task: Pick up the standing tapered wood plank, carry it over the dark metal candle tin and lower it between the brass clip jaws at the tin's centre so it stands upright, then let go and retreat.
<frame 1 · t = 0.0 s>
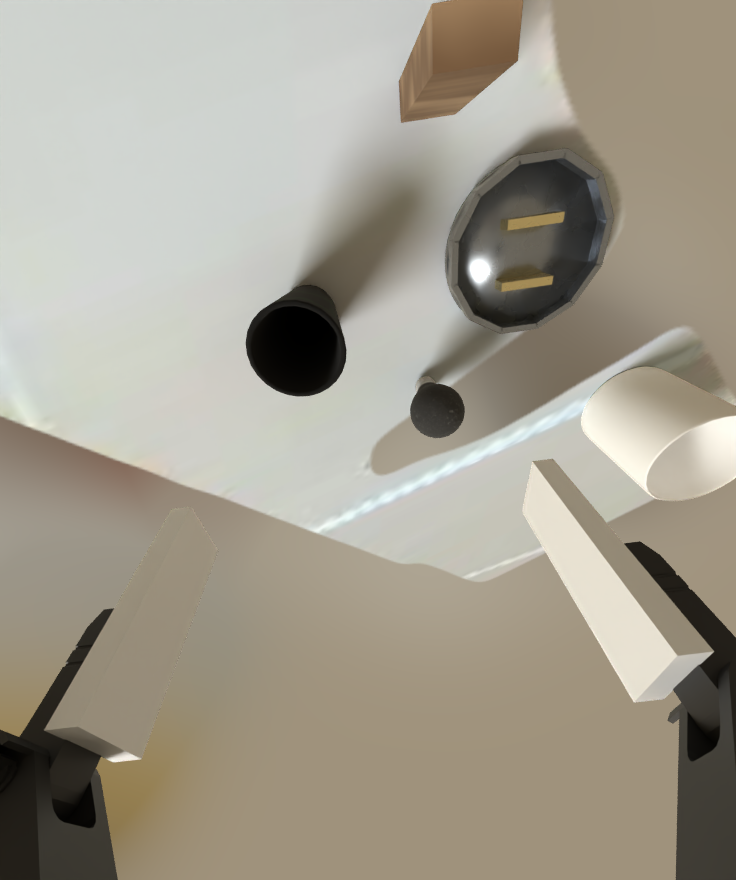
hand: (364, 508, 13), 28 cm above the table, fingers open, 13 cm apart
cup: (310, 312, 36), on the table
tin: (519, 251, 33), on the table
cup 2: (624, 406, 45), on the table
light bulb: (423, 381, 41), on the table
tapered wood plank: (427, 98, 27), on the table
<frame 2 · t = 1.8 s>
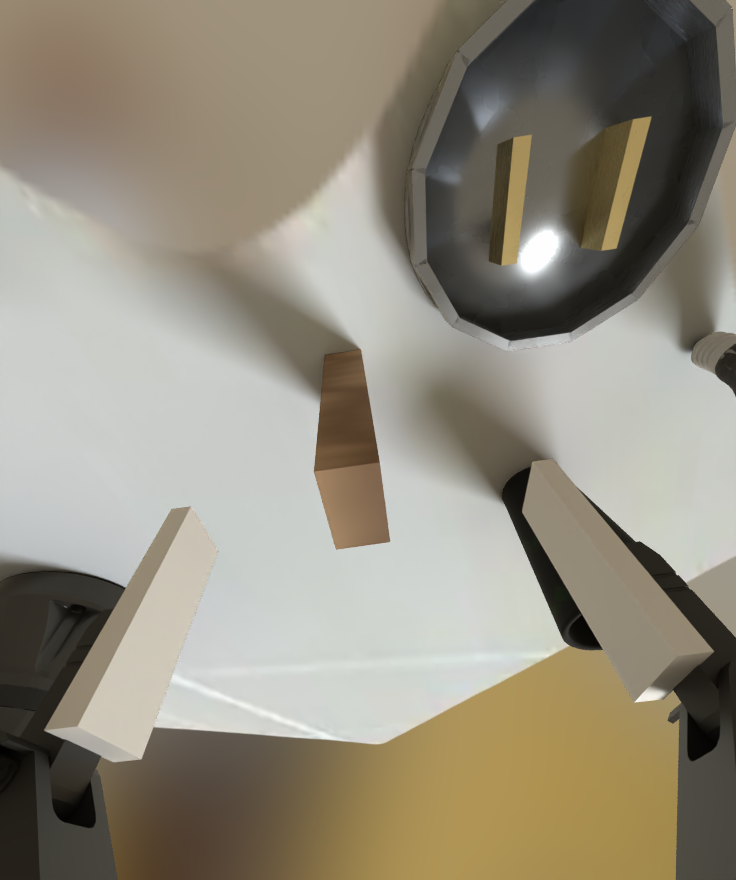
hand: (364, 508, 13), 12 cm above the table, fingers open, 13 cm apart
cup: (531, 487, 31), on the table
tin: (542, 199, 18), on the table
light bulb: (697, 344, 24), on the table
tapered wood plank: (348, 383, 23), on the table
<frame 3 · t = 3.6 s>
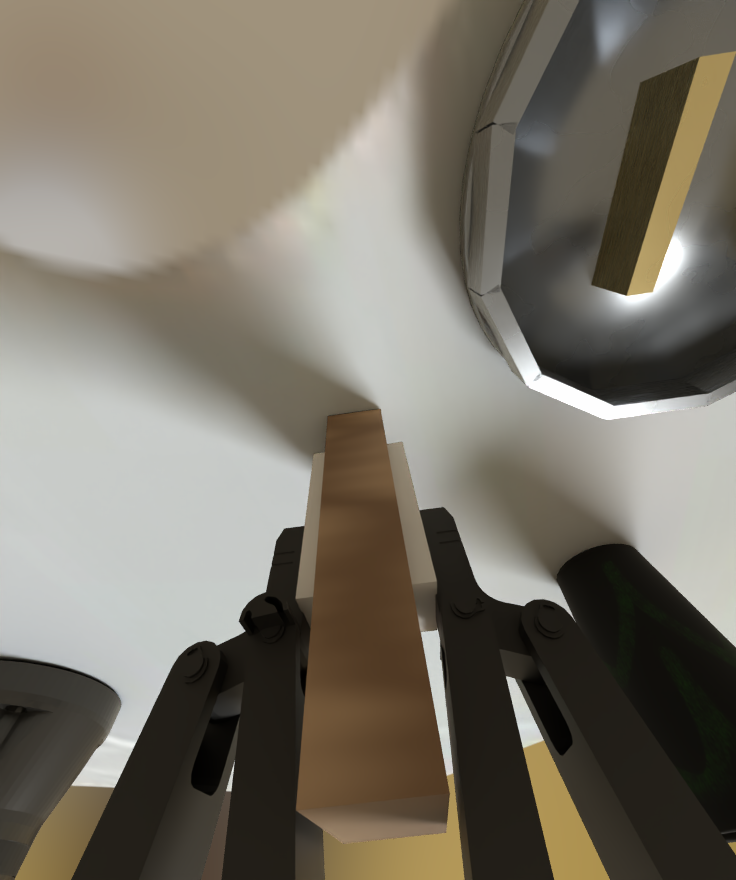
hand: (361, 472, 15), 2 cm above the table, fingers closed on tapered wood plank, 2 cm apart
cup: (595, 566, 24), on the table
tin: (688, 184, 11), on the table
tapered wood plank: (360, 451, 16), on the table, touching gripper
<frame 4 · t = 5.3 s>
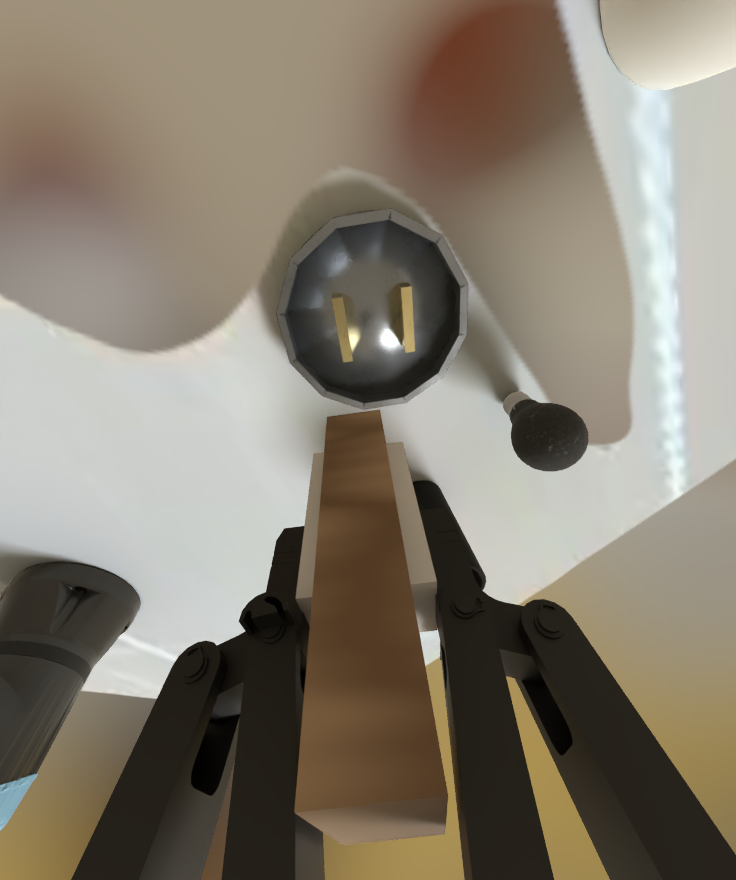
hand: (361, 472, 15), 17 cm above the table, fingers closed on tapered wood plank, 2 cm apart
cup: (418, 496, 41), on the table
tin: (372, 317, 28), on the table
light bulb: (510, 397, 34), on the table
tapered wood plank: (360, 452, 16), point 16 cm above the table, touching gripper
when the fingers open (3 cm above the table, at t = 7.5 s): tapered wood plank drops 1 cm, resting on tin.
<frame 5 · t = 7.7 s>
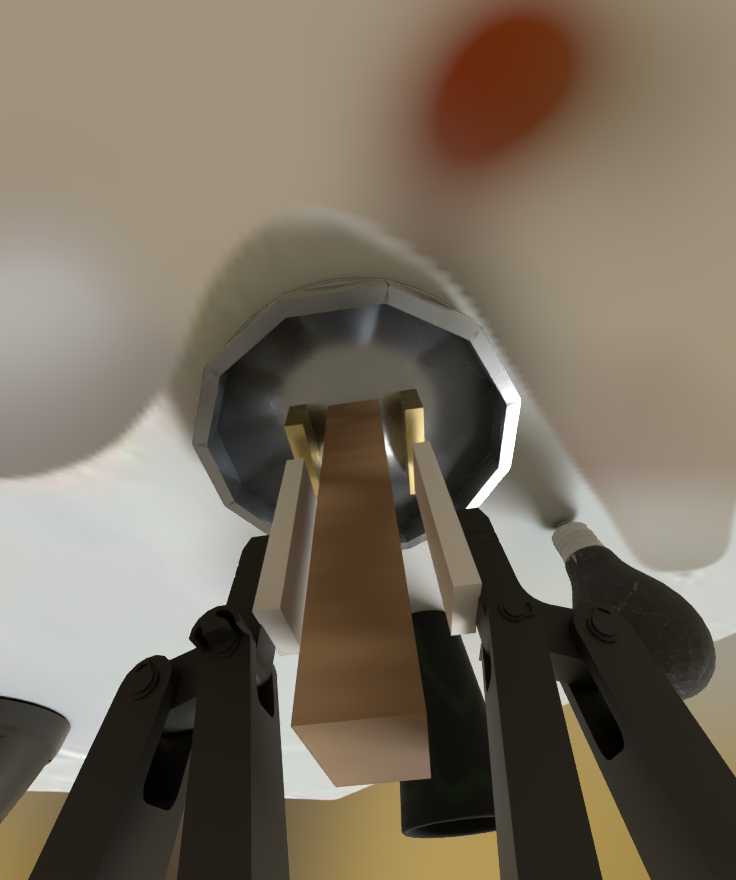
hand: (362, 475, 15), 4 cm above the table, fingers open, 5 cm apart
cup: (424, 624, 30), on the table
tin: (359, 432, 18), on the table
light bulb: (562, 523, 23), on the table
tapered wood plank: (359, 441, 17), point 1 cm above the table, touching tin
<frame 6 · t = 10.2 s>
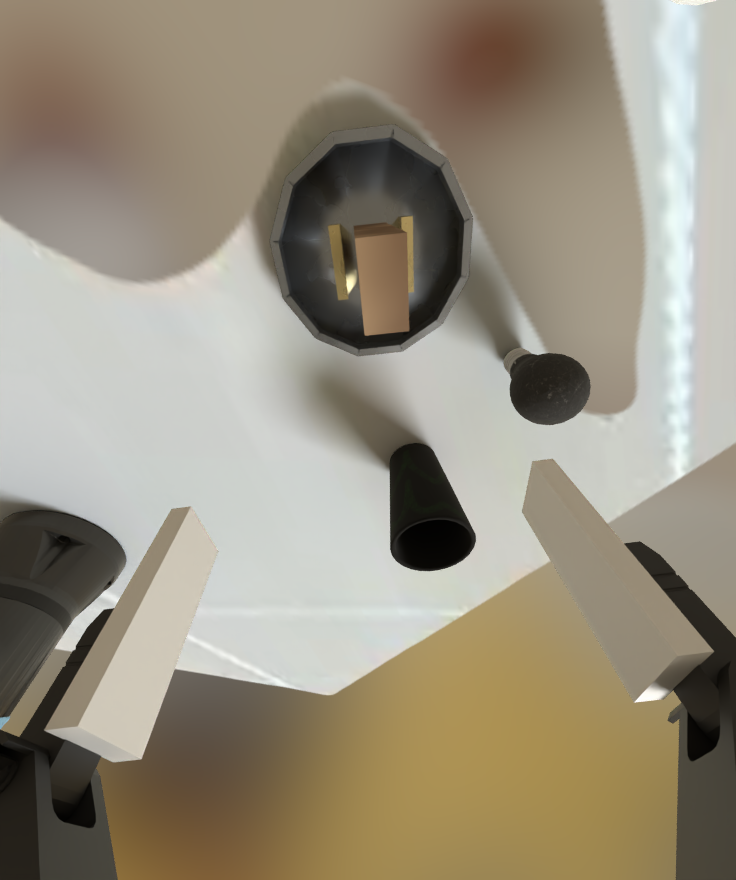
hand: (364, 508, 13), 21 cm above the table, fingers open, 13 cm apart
cup: (412, 461, 40), on the table
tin: (371, 256, 27), on the table
light bulb: (512, 356, 33), on the table
tapered wood plank: (371, 257, 26), point 1 cm above the table, touching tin
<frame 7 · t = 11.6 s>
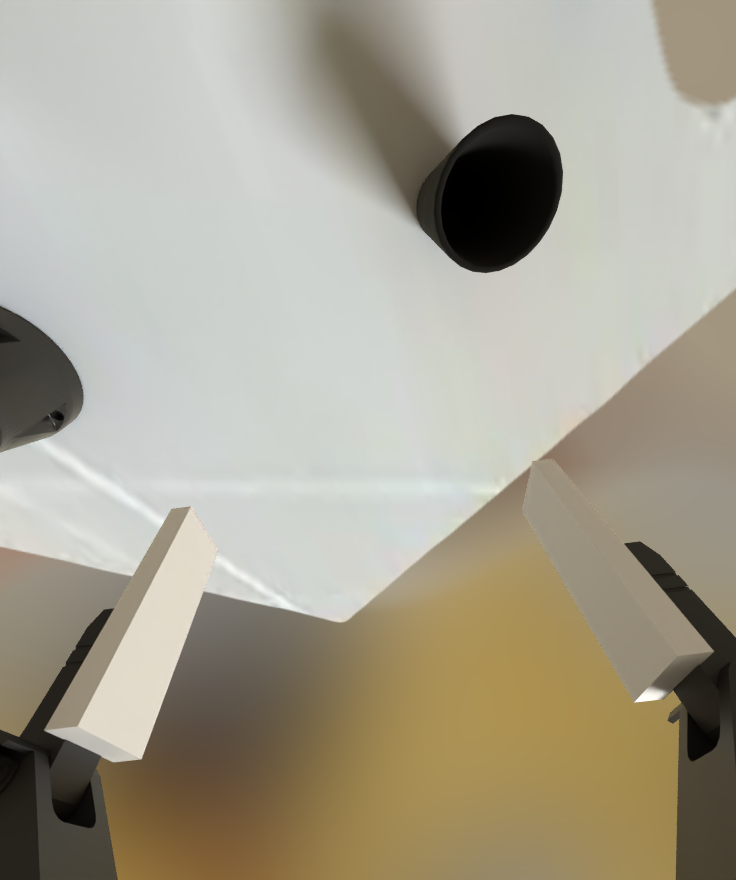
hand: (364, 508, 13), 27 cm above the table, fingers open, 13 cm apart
cup: (446, 204, 30), on the table
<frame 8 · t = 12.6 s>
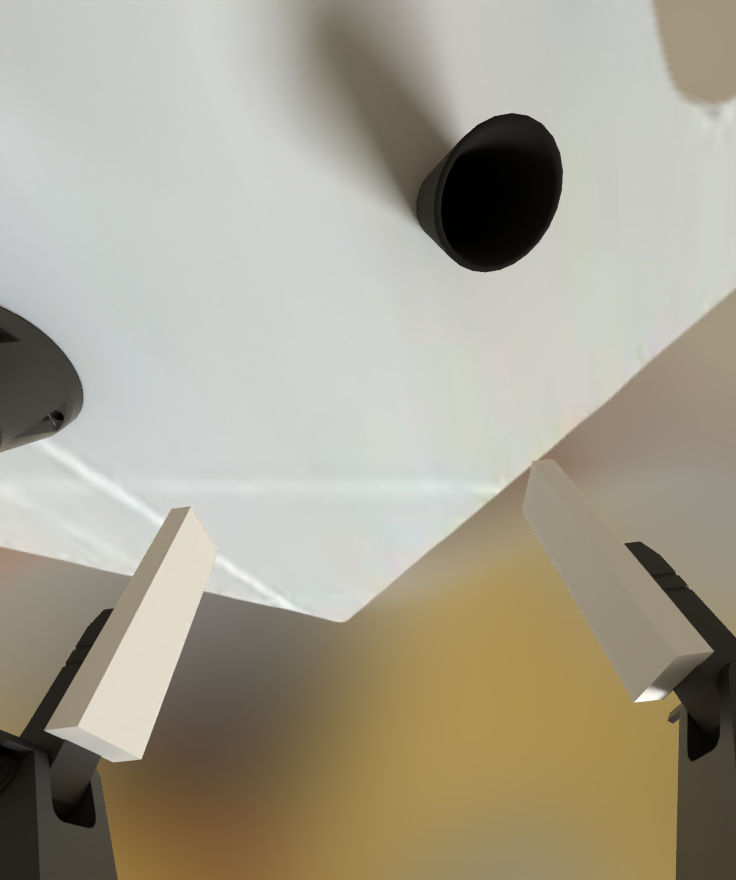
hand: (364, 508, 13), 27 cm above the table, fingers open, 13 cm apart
cup: (446, 204, 30), on the table
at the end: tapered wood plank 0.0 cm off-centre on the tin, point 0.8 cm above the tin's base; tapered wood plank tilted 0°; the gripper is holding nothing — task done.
